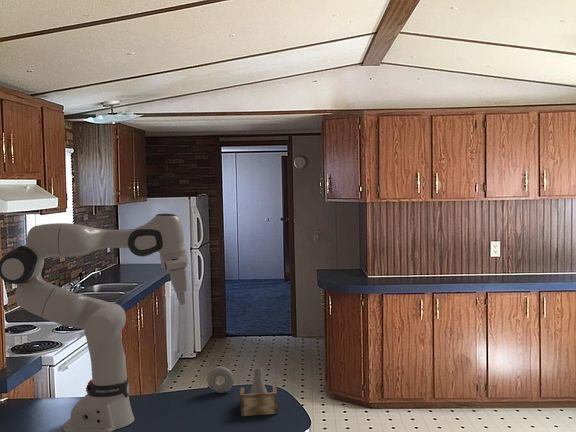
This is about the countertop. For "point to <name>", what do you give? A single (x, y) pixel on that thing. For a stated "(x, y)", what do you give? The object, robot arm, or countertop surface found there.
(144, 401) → the countertop surface
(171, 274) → the robot arm
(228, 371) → the donut
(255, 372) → the flask
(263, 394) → the wooden arch bench
